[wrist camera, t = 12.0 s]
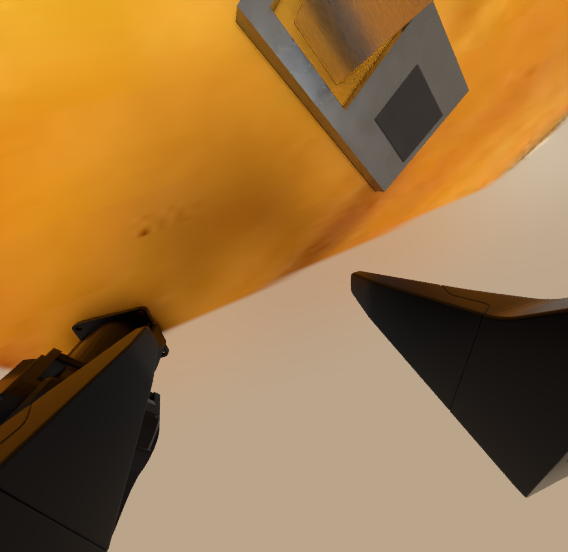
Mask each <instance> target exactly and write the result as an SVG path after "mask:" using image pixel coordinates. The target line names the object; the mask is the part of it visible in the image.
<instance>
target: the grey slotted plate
mask: <svg viewBox="0 0 568 552" xmlns="http://www.w3.org/2000/svg"><path fill="white" fill-rule="evenodd" d="M278 2H279V0H240V2H239V3H238V5H237V16H236V22H237V23H238V25H239V26H240V27H241V28H242V29H243V31H244V32H245V33H246V34H247V36H248V37H249V38H250V39H251V40H252V42H253V43H254V44H255V45H256V47H257V48H258V49H259V50H260V51H261V53H262V54H263V55H264V56H265V57H266V59H267V60H268V61H269V62H270V64H271V65H272V66H273V67H274V68H275V70H276V71H277V72H278V73H279V75H280V76H281V77H282V78H283V79H284V81H285V82H286V83H287V84H288V86H289V87H290V88H291V89H292V90H293V92H294V93H295V94H296V95H297V97H298V98H299V99H300V100H301V101H302V103H303V104H304V105H305V106H306V107H307V109H308V110H309V111H310V112H311V114H312V115H313V116H314V117H315V118H316V120H317V121H318V122H319V123H320V125H321V126H322V127H323V128H324V129H325V131H326V132H327V133H328V134H329V136H330V137H331V138H332V139H333V140H334V142H335V143H336V144H337V145H338V147H339V148H340V149H341V150H342V151H343V153H344V154H345V155H346V156H347V157H348V159H349V160H350V161H351V162H352V164H353V165H354V166H355V167H356V168H357V170H358V171H359V172H360V173H361V175H362V176H363V177H364V178H365V179H366V181H367V182H368V183H369V184H370V186H371V187H372V188H373V189H374V190H375V191H382V192H385V191H386V189H387V188H388V187H389V186H390V185H391V183H392V182H393V181H394V180H395V179H396V177H397V176H398V175H399V174H400V173H401V171H402V170H403V169H404V168H405V167H406V165H407V164H408V163H409V162H410V161H411V159H412V158H413V157H414V156H415V155H416V153H417V152H418V151H419V150H420V149H421V147H422V146H423V145H424V144H425V143H426V141H427V140H428V139H429V138H430V137H431V135H432V134H433V133H434V132H435V131H436V129H437V128H438V127H439V126H440V125H441V123H442V122H443V121H444V120H445V119H446V117H447V116H448V115H449V114H450V113H451V111H452V110H453V109H454V108H455V107H456V105H457V104H458V103H459V102H460V101H461V99H462V98H463V97H464V96H465V95H466V93H467V92H468V91H469V89H468V87H467V84H466V82H465V79H464V77H463V74H462V72H461V70H460V67H459V65H458V62H457V60H456V57H455V55H454V52H453V50H452V47H451V45H450V42H449V40H448V37H447V35H446V32H445V30H444V27H443V25H442V22H441V20H440V17H439V15H438V12H437V10H436V7H435V5H434V2H433V1H432V2H431V3H430V4H429V5H428V6H427V7H425V8H424V9H423V10H422V11H421V12H420V13H419V14H417V15H416V16H415V17H414V18H413V19H412V20H410V21H409V22H408V23H407V24H406V25H405V26H404V27H402V28H401V29H400V30H399V31H398V32H397V34H396V35H395V37H394V38H393V39H392V41H391V42H390V43H389V45H388V46H387V48H386V49H385V50H384V52H383V53H382V54H381V56H380V57H379V58H378V60H377V61H376V63H375V64H374V65H373V67H372V68H371V69H370V71H369V72H368V74H367V75H366V76H365V78H364V79H363V80H362V82H361V83H360V85H359V86H358V87H357V89H356V90H355V91H354V93H353V94H352V95H351V97H350V98H349V100H348V101H347V102H346V104H345V105H344V106H343V107H342V106H341V104H340V103H339V101H338V100H337V99H336V97H335V96H334V95H333V93H332V92H331V91H330V89H329V88H328V86H327V85H326V84H325V82H324V81H323V80H322V78H321V77H320V75H319V74H318V73H317V71H316V70H315V69H314V67H313V66H312V64H311V63H310V62H309V60H308V59H307V58H306V56H305V55H304V54H303V52H302V51H301V49H300V48H299V47H298V45H297V44H296V43H295V41H294V40H293V38H292V37H291V36H290V34H289V33H288V32H287V30H286V29H285V28H284V26H283V25H282V23H281V22H280V21H279V19H278V18H277V17H276V15H275V14H274V12H273V10H274V9H275V7H276V5H277V4H278Z"/></svg>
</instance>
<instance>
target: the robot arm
mask: <svg viewBox="0 0 568 552" xmlns="http://www.w3.org/2000/svg"><path fill="white" fill-rule="evenodd" d="M351 291H352V293H353V295H354V296H355V298H356V299H357V301H358V302H359V304H360V305H361V307H362V308H363V309H364V311H365V312H366V314H367V315H368V317H369V318H370V319H371V320H372V321H373V323H374V324H375V325H376V326H377V327H378V328H379V329H380V331H381V332H382V333H383V334H384V335H385V336H386V338H387V339H388V340H389V341H390V342H391V343H392V344H393V346H394V347H395V348H396V349H397V350H398V351H399V353H400V354H401V355H402V356H403V357H404V358H405V360H406V361H407V362H408V363H409V364H410V365H411V367H412V368H413V369H414V370H415V371H416V372H417V373H418V375H419V376H420V377H421V378H422V379H423V380H424V382H425V383H426V384H427V385H428V386H429V387H430V388H431V390H432V391H433V392H434V393H435V394H436V395H437V396H438V398H439V399H440V400H441V401H442V402H443V404H444V405H445V406H446V407H447V408H448V409H449V410H450V412H451V413H452V414H453V415H454V416H455V417H456V419H457V420H458V421H459V422H460V423H461V425H462V426H463V427H464V428H465V429H466V430H467V431H468V433H469V434H470V435H471V436H472V437H473V438H474V440H475V441H476V442H477V443H478V444H479V445H480V446H481V447H482V449H483V450H484V451H485V452H486V453H487V455H488V456H489V457H490V458H491V459H492V460H493V462H494V463H495V464H496V465H497V466H498V467H499V468H500V470H501V471H502V472H503V473H504V474H505V475H506V476H507V477H508V479H509V480H510V481H511V482H512V484H513V485H514V486H515V487H516V488H517V489H518V490H519V491H520V492H521V493H522V494H523V495H524V496H525V497H526V498H527V497H529V496H531V495H533V494H535V493H537V492H538V491H540V490H542V489H544V488H546V487H548V486H550V485H551V484H553V483H555V482H557V481H559V480H561V479H563V478H565V477H567V476H568V298H563V299H534V298H527V297H519V296H511V295H504V294H496V293H488V292H482V291H474V290H467V289H461V288H455V287H449V286H444V285H442V286H440V285H438V284H432V283H426V282H420V281H415V280H408V279H403V278H397V277H391V276H386V275H380V274H374V273H368V272H362V271H358V272H354V273H352V274H351ZM139 311H142V312H143V313H140V312H139ZM79 327H81V328H79ZM72 330H73V331H74V332H75V334H76V335H77V336H78V338H79V339H80V340H81V341H80V342H79V343H78V344H77V345H76V346H75V347H74V348H73V349H72V350H71V352H70V353H69V354H68V355H65V354H62V353H61V352H62V351H60V350H58V349H55V348H53V349H52V350H51V351H50V352H49V353H48V354H46V355H45V356H44V355H41V356H40V357H39V358H37V359H28V360H23V361H22V362H21V363H20V364H18V365H17V366H16V367H15V368H14V369H13V370H12V371H10V372H9V373H8V374H7V375H6V376H5V377H4V378H2V379H1V380H0V552H107V550H108V549H109V545H110V541H111V538H112V535H113V532H114V530H115V528H116V525H117V523H118V520H119V517H120V515H121V512H122V510H123V508H124V505H125V503H126V500H127V498H128V496H129V493H130V491H131V489H132V487H133V485H134V483H135V481H136V479H137V477H138V475H139V474H140V473H141V471H142V470H143V468H144V467H145V465H146V464H147V462H148V460H149V458H150V456H151V454H152V452H153V450H154V448H155V445H156V442H157V439H158V435H159V420H160V395H159V394H158V393H155V392H154V393H152V392H150V391H151V386H152V382H153V377H154V372H155V370H156V368H157V366H158V363H159V360H160V358H162V357H165V356H167V355H168V352H169V349H168V347H167V345H166V340H165V338H164V336H163V334H162V332H161V331H160V329H159V327H158V325H157V324H156V323H154V321H153V319H152V317H151V315H150V313H149V312H148V310H147V309H146V308H145V307H138V308H134V309H130V310H126V311H122V312H118V313H114V314H110V315H106V316H101V317H97V318H93V319H89V320H85V321H81V322H77V323H76V324H75V325H74V326H73V327H72ZM163 352H165V353H163Z"/></svg>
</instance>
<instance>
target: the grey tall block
mask: <svg viewBox="0 0 568 552" xmlns="http://www.w3.org/2000/svg"><path fill="white" fill-rule="evenodd" d="M432 1H433V0H304V1H303V3H302V6H301V8H300V10H299V13H298V15H297V17H296V20H295V22H294V23H295V25H296V26H297V28H298V29H299V31H300V32H301V34H302V35H303V37H304V38H305V40H306V41H307V43H308V44H309V46H310V47H311V48H312V50H313V51H314V53H315V54H316V56H317V57H318V59H319V60H320V62H321V63H322V65H323V66H324V68H325V69H326V71H327V72H328V73H329V75H330V76H331V78H332V79H333V81H334V82H335V84H336V85H337V84H338V83H339V82H340V81H342V80H343V79H344V78H345V77H346V76H347V75H349V74H350V73H351V72H352V71H353V70H354V69H355V68H357V67H358V66H359V65H360V64H361V63H362V62H363V61H365V60H366V59H367V58H368V57H369V56H370V55H371V54H373V53H374V52H375V51H376V50H377V49H378V48H380V47H381V46H382V45H383V44H384V43H385V42H386V41H388V40H389V39H390V38H391V37H392V36H393V35H394V34H396V33H397V32H398V31H399V30H400V29H401V28H402V27H404V26H405V25H406V24H407V23H408V22H409V21H410V20H412V19H413V18H414V17H415V16H416V15H417V14H419V13H420V12H421V11H422V10H423V9H424V8H425V7H427V6H428V5H429V4H430V3H431V2H432Z"/></svg>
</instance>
